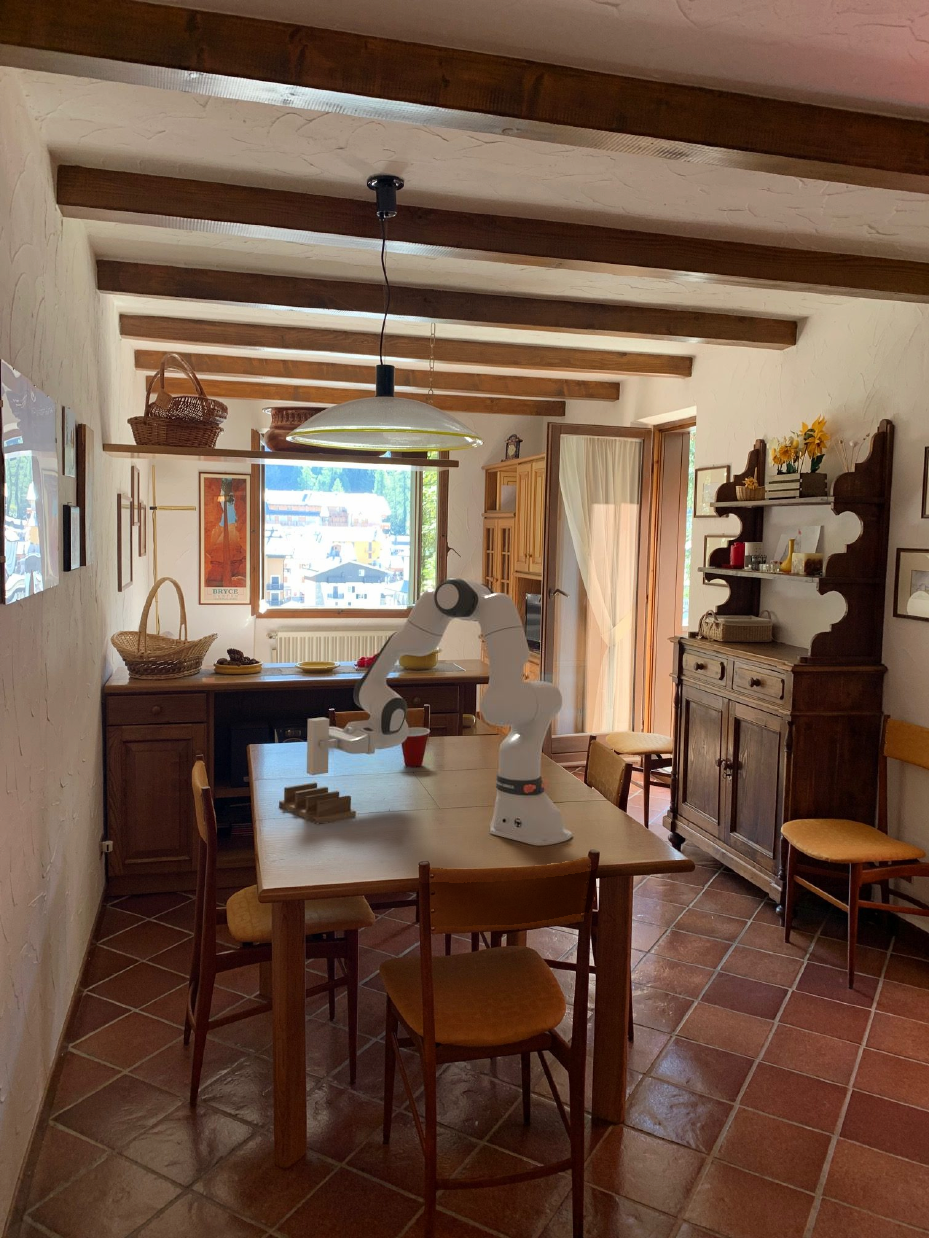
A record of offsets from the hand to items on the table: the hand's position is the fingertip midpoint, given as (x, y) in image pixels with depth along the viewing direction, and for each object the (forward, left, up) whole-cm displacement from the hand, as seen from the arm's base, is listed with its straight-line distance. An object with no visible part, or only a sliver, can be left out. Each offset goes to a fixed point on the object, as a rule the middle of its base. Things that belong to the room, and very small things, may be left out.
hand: (315, 742), depth 252 cm
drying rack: (0, -1, -19) cm, 19 cm away
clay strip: (0, -1, -8) cm, 9 cm away
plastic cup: (+27, -56, -19) cm, 65 cm away
